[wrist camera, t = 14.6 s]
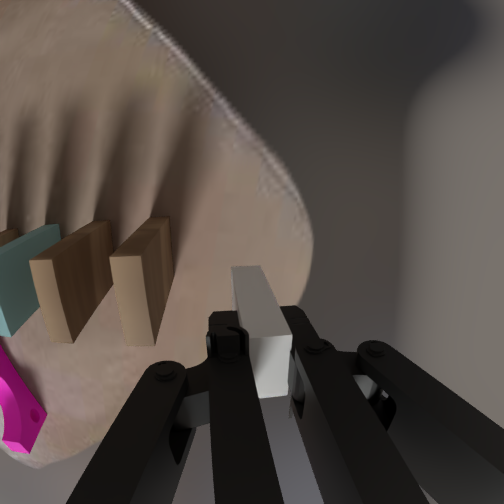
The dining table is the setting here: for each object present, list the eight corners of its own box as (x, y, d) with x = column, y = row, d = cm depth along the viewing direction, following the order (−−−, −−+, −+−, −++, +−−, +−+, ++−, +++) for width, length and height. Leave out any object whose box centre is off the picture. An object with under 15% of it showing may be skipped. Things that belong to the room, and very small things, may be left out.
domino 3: (155, 277, 24) (126, 345, 15) (149, 217, 22) (109, 257, 13) (174, 276, 24) (154, 346, 15) (169, 216, 23) (140, 255, 13)
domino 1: (58, 223, 21) (-12, 261, 12) (67, 278, 23) (11, 337, 13) (44, 225, 21) (-27, 262, 12) (54, 279, 23) (-5, 335, 13)
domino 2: (101, 278, 23) (51, 341, 14) (92, 221, 22) (29, 260, 12) (117, 278, 24) (73, 343, 14) (110, 219, 22) (51, 259, 13)
